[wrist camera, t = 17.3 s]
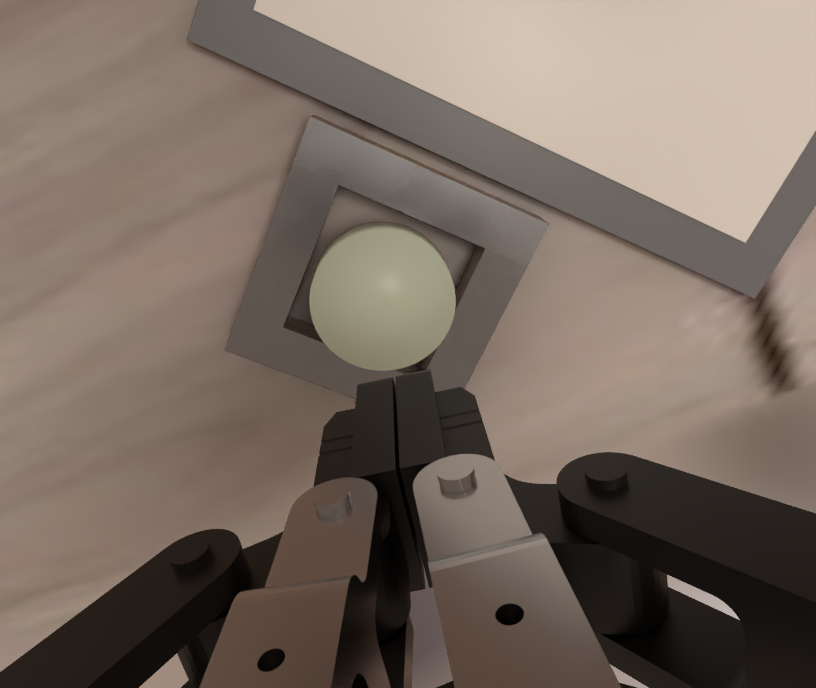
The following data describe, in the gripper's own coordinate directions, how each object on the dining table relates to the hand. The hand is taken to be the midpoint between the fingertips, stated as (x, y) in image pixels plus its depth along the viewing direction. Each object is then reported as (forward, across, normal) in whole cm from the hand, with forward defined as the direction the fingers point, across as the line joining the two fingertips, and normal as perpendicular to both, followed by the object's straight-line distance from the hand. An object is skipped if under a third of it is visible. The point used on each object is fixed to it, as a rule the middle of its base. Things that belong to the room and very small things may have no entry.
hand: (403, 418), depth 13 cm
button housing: (+10, 0, 0) cm, 10 cm away
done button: (+8, 0, 0) cm, 8 cm away
